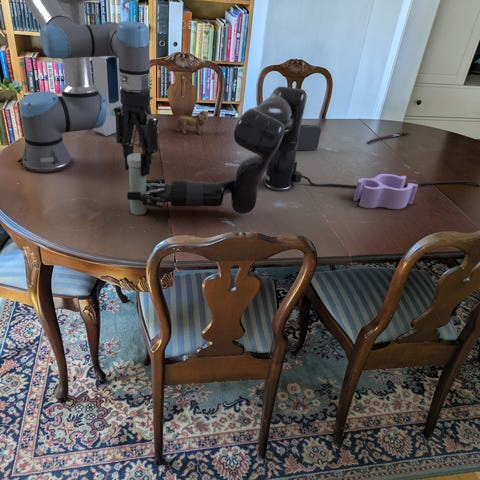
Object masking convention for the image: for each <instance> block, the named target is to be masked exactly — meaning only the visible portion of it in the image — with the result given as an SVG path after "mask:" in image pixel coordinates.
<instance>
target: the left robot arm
mask: <svg viewBox="0 0 480 480" xmlns="http://www.w3.org/2000/svg"><path fill="white" fill-rule="evenodd" d="M86 1H87V0H23V2H24V3H25V4H26V5H27V7H28V9H29V11H30V12H31V14H32V15H33V17H34V19H35V21H36V22H37V23H38V25H39V26H40V30H39V39H40V44H41V48H42V51H43V53H44V55H45V57H47V58H49V59H60V60H61V61H62V68H63V76H64V82H65V83H64V86H63V87H62V88H61V95H60V96H59V95H58V94H57V93H56V92H54V91H45V90H44V91H43V90H41V91H36V92H32V93H28V94H26V95H24V96H23V97H22V98H21V99H20V100H19V103H18V104H19V116H20V119H21V125H22V132H23V137H24V148H23V153H22V157H20V159H18V160H17V163H18V164H20V163H22V166H23V168H24V169H25V170H27V171H29V172H33V173H39V174H46V173H56V172H61V171H63V170H66V169H67V168H69V167H70V166H71V163H72V159H71V155H70V153H69V151H68V150H67V149H68V148H67V147H66V145H65V143H64V140H63V134H64V133H71V132H81V131H93V129H95V128H99V127H101V126H102V125H103V124H104V122H105V120H106V114H107V108H106V103H105V98H104V96H103V95H102V94H101V93H99V92H98V88H97V87H96V86H95V85H94V81H93V72H92V65H91V58H92V57H104V56H116V57H117V58H118V67H119V88H120V101H121V103H122V104H123V105H122V106H119V107H116V108H114V113H115V116H116V133H115V136H116V137H115V138H116V139H115V141H116V143H117V144H120V145H121V147H122V156H123V158H124V170H125V171H129V165H128V164H127V156H128V155H129V154H132V153H134V149H133V146H132V145H131V144H132V143H133V140H132V139H133V136H134V130H135V129H137V130H138V131H137V133H139V134H138V138H139V137H140V142H141V146H140V147H141V150H142V153H141V176H143V177H144V176H146V177H147V176H148V175H150V174H151V172H150V171H151V169H150V168H151V167H150V166H151V164H152V157H151V154H152V155H153V154H155V153H157V152H158V149H157V140H158V123H159V117H158V116H154V115H152V116H151V115H150V112H149V107H148V106H149V105H151V100H150V97H151V92H150V91H151V90H150V91H149V88H150V87H151V85H150V83H151V82H150V80H151V79H150V77H151V75H150V73H151V71H150V44H151V39H150V34H149V33H150V32H149V30H150V29H149V26H148V25H147V24H146V23H144V22H139V21H132V20H124V21H119V22H115V21H103V22H101V23H99V24H97V23H96V24H87V20H86V19H87V18H86V9H85V2H86ZM149 71H150V72H149Z"/></svg>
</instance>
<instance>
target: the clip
mask: <svg viewBox="0 0 480 480" xmlns="http://www.w3.org/2000/svg"><path fill="white" fill-rule="evenodd" d="M406 180H407V175H401V176H400V175H396V174H392V173H381V174H380V173H379V174H377V175H376V176H375V177H372V178H371V177H361V178H359V179H358V180H357V184H356V186H357V187H356V188H355V191H354V196H353V198H352V200H353V202H358V200H359V199H360V200H359V203H358V206H359V207H361V208H365V209H375V208H386V209H390V210H402V209H405V208H406V207H407V206H408V205H413V202H414V199H415V196H416V193H417V191H418V187H419V185H417V183H412V182H408V183H407V184H408V185H407V184H406V185H407V187H403V186H404V185H405V183H406Z"/></svg>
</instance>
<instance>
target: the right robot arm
mask: <svg viewBox="0 0 480 480" xmlns="http://www.w3.org/2000/svg"><path fill="white" fill-rule="evenodd" d="M306 103H307V92H306V91H305V90H304V89H301V88H295V87H289V86H277V87H275V88H274V90H273V91H272V93H271V94H270V95H269V97H267V98H266V99H265V100H263V101H262V102H261V103H260V104H259V105H258V106H254V107H251V108H248V109H247V110H246V111H245V112H243V114H242V115H241V116H240V117H239V118H238V120H237V122H236V124H235V126H234V130H233V140H234V142H235V143H236V144H237V145H238V146H240V147H241V148H244V149H245V150H247V151H250V152H252V153H253V154H255V155H252V156H250V157H248V158H246V159H244V160H243V161H242V162H240V163H239V165H238V167H237V170H236V173H235V176H234V177H235V178H234V179H230V180H225V181H220V182H203V181H196V180H177V179H175V180H172V181H171V184H168V183H166V179H165V178H158V179H146V192H142V193H141V192H130V184H129V185H128V189H129V191H127V194H126V199H127V200H129V201H130V200H141V202H143V205H146V206H147V207H148V206H149V207H154V208H161V209H162V208H164V203H170V206H172V207H187V208H188V207H192V208H195V207H198V208H199V207H215V208H216V207H221V206H222V205H223V203H224V197H225V195H228V194H230V204H231V208H232V209H233V211H234V212H236V213H237V214H240V215H245V214H249V213H251V212H252V211H253V210H254V209H255V207H256V205H257V204H256V203H257V196H258V188H259V187H260V184H261V181H262V178H263V176H264V175H265V176H264V178H265V179H264V182H263V184H264V186H265V187H267V188H268V189H270V190H274V191H280V192H281V191H288V190H290V189H291V188H292V187H294V184H296V183H301V182H302V179H305V180H307V181H308V183H309V184H310V185H311V186H314V187H341V188H353V189H354V188H355V189H356V187H357V184H356V185H354V184H353V185H352V184H342V183H341V184H340V183H322V184H318V183H314V182H312V181H311V179H310V178H309V177H307V176H305V175H304V174H302V173H301V172H300V171H298V170H297V166H298V160H297V159H296V158H297V153H298V150H297V146H298V140H299V134H300V128H301V125H302V122H303V118H304V113H305V109H306V105H307V104H306ZM264 173H265V174H264ZM463 181H465V182H463ZM469 182H471V183H469ZM474 183H476V184H475V185H476V186H477V187H478V188H480V183H479V182H477V181H474V180H441V181H429V182H418V183H416V184H417V185H418V186H425V185H440V184H474ZM407 185H408V183H407V184H404V186H403V188H406V187H407Z"/></svg>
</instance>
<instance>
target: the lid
mask: <svg viewBox="0 0 480 480" xmlns="http://www.w3.org/2000/svg"><path fill="white" fill-rule="evenodd" d="M127 164H128V165H129V166H131V167H135V168H139V167H141V153H140V152H133V153H132V154H129V155H128V156H127Z"/></svg>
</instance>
